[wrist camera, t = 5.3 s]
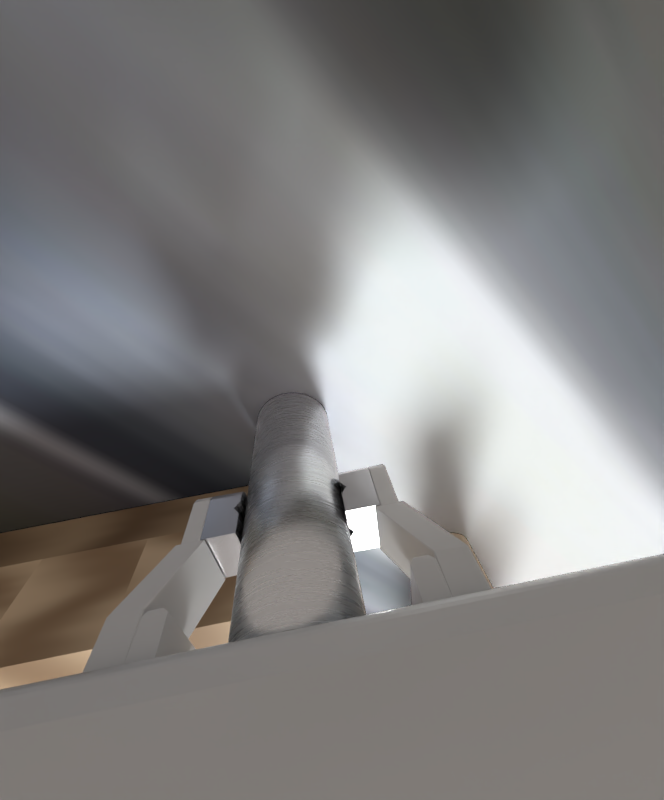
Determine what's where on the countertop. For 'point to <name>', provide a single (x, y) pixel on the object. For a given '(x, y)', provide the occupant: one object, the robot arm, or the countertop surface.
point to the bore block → (87, 585)
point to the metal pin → (294, 527)
